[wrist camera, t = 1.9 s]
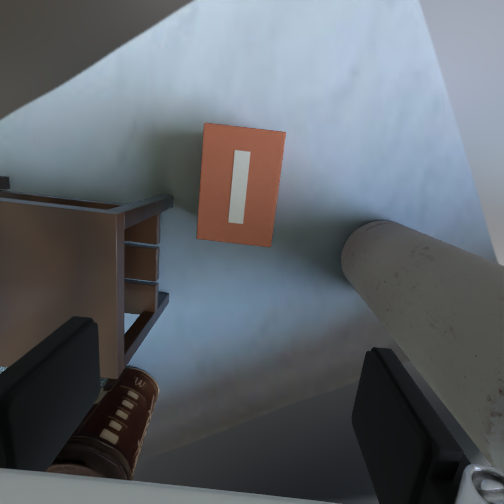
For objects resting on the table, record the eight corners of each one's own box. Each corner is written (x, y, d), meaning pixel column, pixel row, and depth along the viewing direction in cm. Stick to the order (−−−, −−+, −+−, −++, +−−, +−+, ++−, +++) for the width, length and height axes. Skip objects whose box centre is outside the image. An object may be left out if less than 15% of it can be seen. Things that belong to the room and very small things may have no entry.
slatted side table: (9, 284, 35) (-134, 351, 22) (-3, 175, 31) (-177, 180, 19) (168, 302, 35) (117, 379, 22) (173, 195, 32) (116, 214, 19)
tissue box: (209, 223, 32) (196, 239, 25) (216, 132, 30) (203, 122, 23) (268, 230, 32) (270, 247, 25) (280, 139, 30) (286, 131, 23)
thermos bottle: (421, 219, 32) (1372, 524, 5) (412, 291, 34) (1031, 796, 7) (342, 220, 32) (802, 520, 5) (338, 292, 34) (646, 783, 7)
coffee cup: (96, 411, 39) (18, 526, 26) (97, 354, 37) (14, 450, 24) (165, 421, 39) (120, 540, 27) (170, 365, 37) (125, 466, 24)
